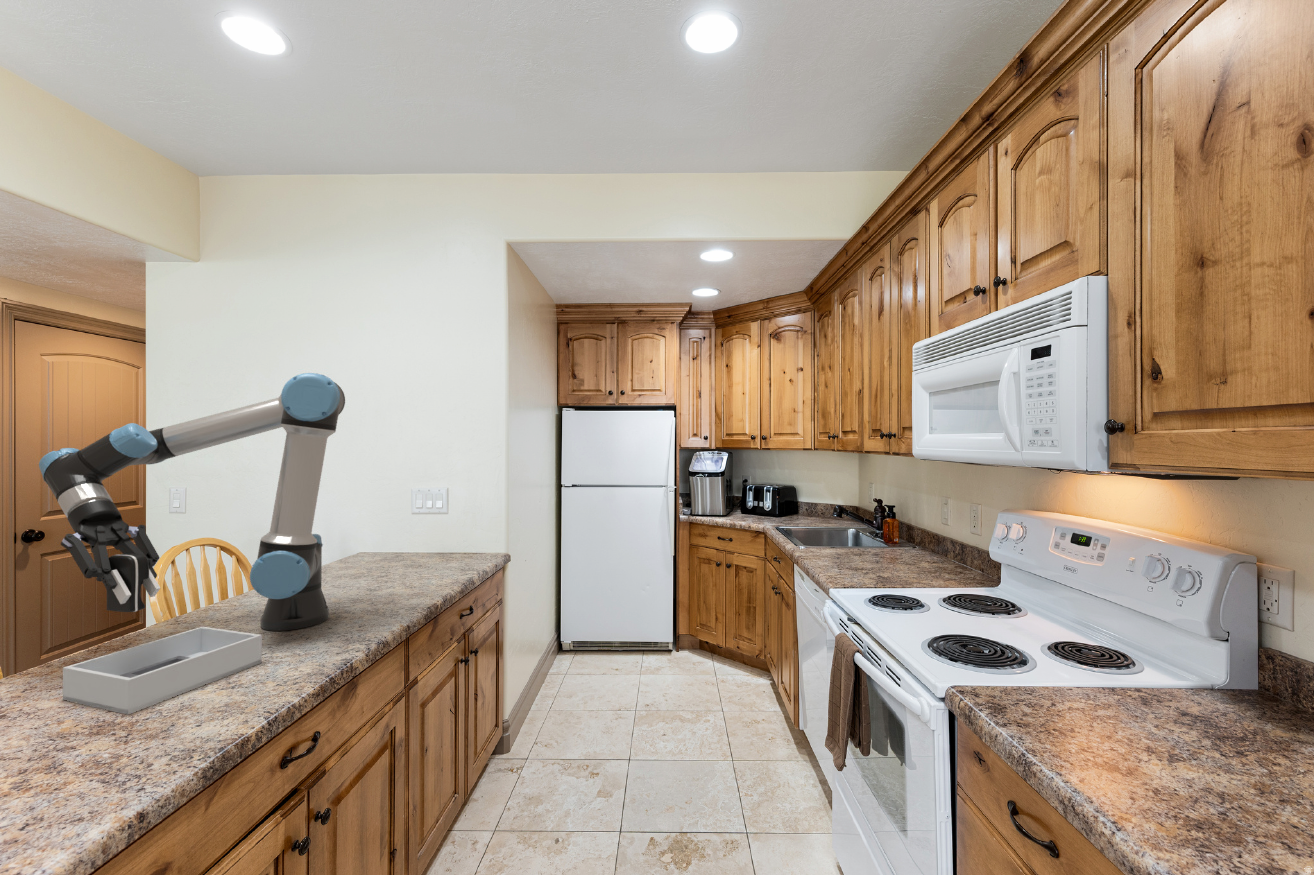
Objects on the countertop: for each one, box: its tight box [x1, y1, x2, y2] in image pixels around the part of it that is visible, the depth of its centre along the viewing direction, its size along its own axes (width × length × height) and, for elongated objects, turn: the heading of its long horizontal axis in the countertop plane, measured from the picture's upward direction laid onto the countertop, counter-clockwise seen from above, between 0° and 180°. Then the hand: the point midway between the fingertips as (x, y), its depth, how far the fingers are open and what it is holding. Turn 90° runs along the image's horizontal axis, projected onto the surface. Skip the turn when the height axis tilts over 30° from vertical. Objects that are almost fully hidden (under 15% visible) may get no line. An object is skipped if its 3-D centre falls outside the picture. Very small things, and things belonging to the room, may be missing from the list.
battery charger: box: [106, 553, 149, 613], centre depth 115 cm, size 7×4×11 cm, turn 79°
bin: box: [62, 626, 263, 715], centre depth 112 cm, size 24×18×6 cm
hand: (140, 595), depth 114 cm, fingers closed on battery charger, 4 cm apart
